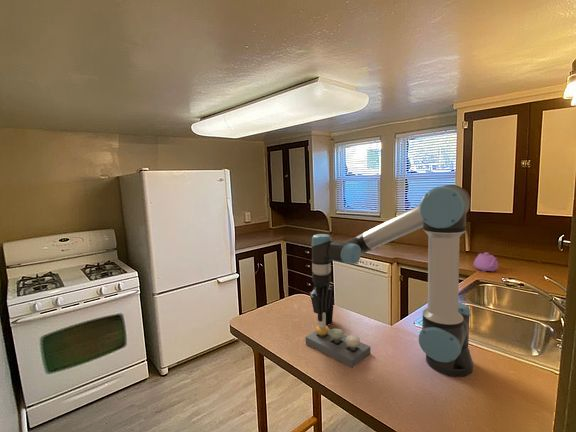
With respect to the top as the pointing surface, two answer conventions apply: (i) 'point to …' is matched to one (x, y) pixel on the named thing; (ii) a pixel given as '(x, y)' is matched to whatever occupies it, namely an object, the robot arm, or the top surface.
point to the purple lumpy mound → (486, 262)
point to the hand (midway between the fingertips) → (322, 327)
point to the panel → (338, 348)
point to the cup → (330, 312)
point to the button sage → (336, 335)
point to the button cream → (352, 342)
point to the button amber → (322, 331)
